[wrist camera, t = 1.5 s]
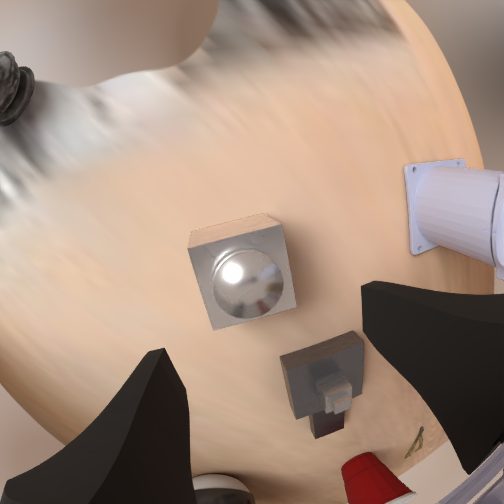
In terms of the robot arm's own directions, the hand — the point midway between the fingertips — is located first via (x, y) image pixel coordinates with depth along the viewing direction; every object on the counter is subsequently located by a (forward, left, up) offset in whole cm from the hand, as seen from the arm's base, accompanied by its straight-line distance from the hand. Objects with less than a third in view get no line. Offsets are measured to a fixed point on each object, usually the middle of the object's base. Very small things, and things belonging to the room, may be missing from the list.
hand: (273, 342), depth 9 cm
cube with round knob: (0, 0, -11) cm, 11 cm away
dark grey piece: (-5, +16, -11) cm, 20 cm away
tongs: (-24, +46, -12) cm, 53 cm away
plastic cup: (-10, +39, -11) cm, 42 cm away
